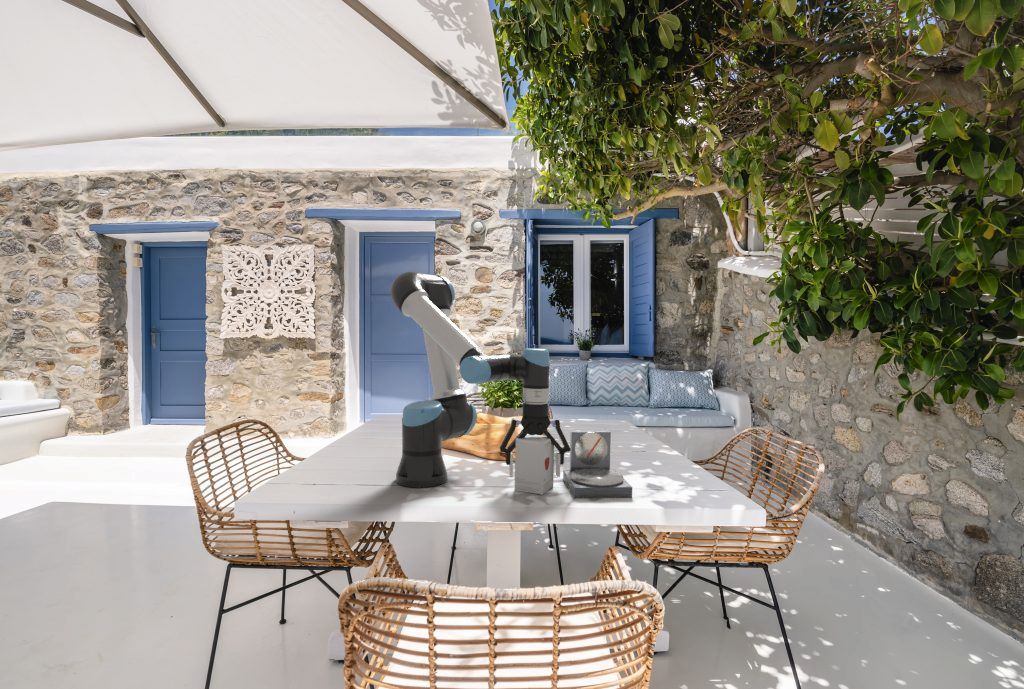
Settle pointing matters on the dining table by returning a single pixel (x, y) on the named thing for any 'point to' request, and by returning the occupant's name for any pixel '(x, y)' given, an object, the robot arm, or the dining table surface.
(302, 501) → the dining table surface
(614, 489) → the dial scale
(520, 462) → the supplement box
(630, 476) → the dining table surface
